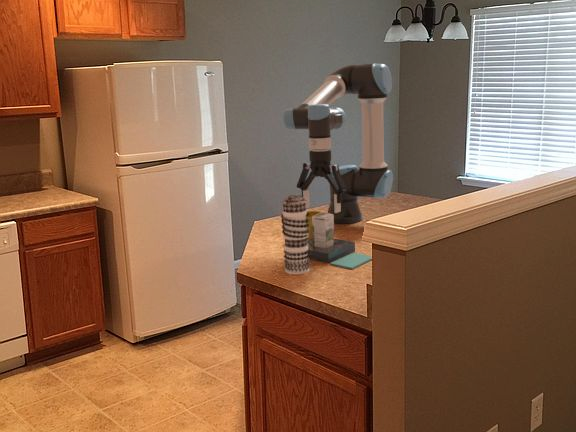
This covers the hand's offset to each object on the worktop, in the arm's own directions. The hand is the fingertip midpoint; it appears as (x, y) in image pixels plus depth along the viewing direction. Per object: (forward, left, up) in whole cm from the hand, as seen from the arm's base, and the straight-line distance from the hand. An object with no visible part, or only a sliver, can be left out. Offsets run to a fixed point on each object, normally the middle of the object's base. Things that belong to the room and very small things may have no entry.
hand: (321, 210), depth 223 cm
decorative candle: (+19, +3, -16) cm, 25 cm away
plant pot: (-14, -16, -16) cm, 27 cm away
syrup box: (0, 0, -16) cm, 16 cm away
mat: (+2, +14, -16) cm, 21 cm away
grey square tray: (0, 0, -16) cm, 16 cm away
